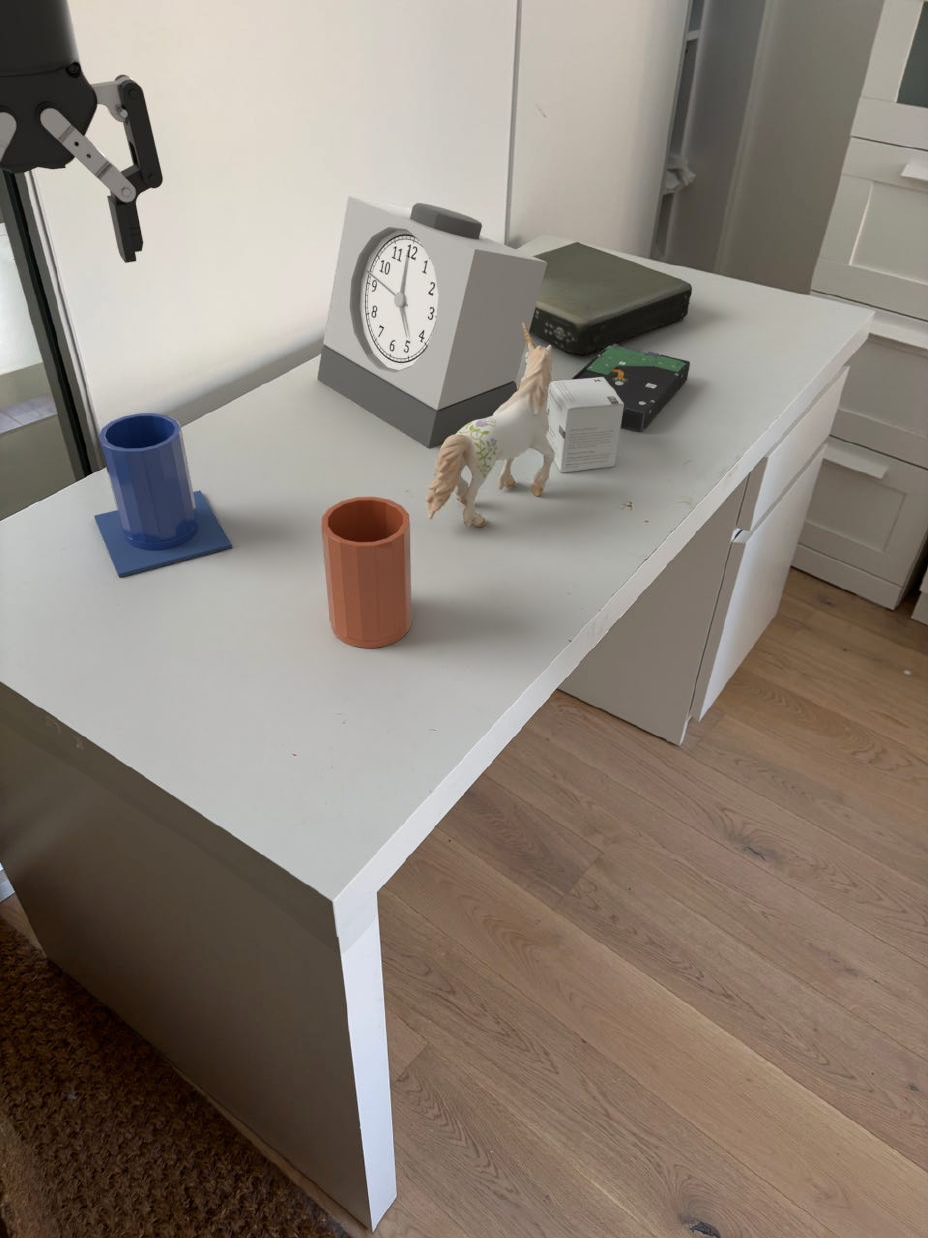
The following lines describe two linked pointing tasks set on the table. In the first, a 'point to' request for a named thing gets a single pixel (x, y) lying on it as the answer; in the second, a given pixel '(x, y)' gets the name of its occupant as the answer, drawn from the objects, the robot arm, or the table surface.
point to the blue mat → (139, 560)
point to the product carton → (583, 423)
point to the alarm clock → (426, 317)
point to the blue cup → (150, 480)
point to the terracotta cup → (368, 570)
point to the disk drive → (638, 381)
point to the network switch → (602, 299)
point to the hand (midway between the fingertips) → (61, 268)
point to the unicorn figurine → (498, 440)
